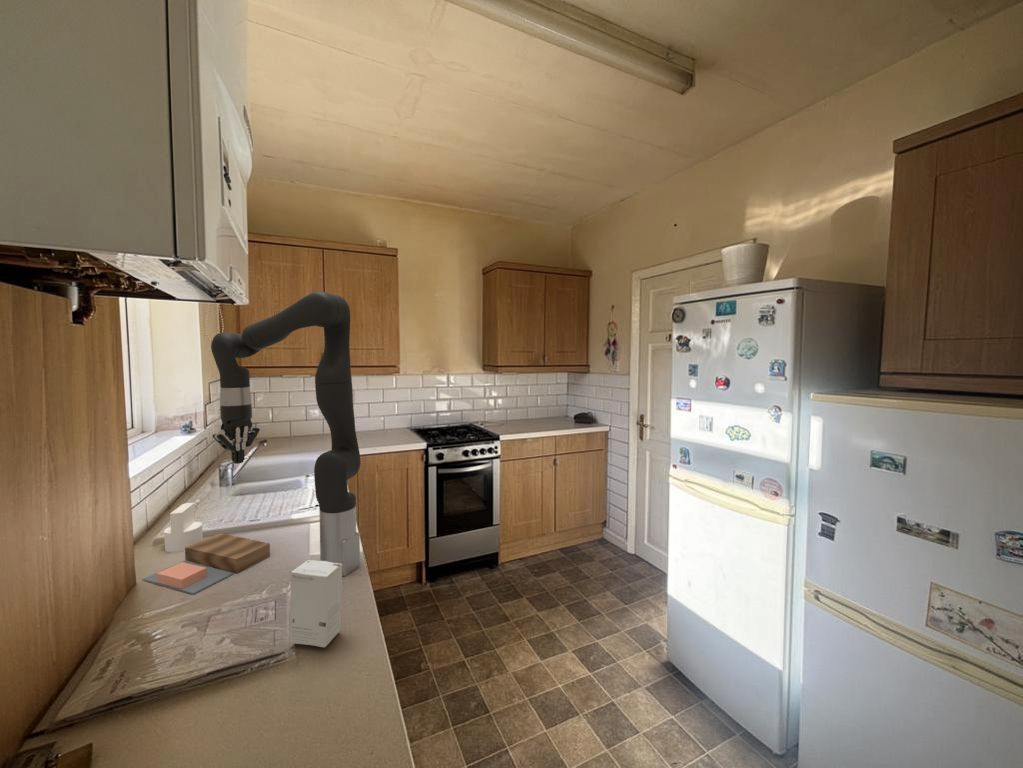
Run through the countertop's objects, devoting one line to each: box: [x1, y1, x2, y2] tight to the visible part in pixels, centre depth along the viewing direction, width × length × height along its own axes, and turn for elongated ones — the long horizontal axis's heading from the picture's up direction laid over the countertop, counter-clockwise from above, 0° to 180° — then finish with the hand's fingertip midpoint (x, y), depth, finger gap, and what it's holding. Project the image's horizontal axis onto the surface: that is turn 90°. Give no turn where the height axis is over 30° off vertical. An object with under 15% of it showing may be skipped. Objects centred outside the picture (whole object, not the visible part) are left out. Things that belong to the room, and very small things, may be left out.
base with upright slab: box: [163, 502, 204, 553], centre depth 123 cm, size 9×9×12 cm
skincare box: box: [288, 559, 343, 648], centre depth 84 cm, size 8×6×15 cm
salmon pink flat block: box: [156, 561, 207, 589], centre depth 104 cm, size 9×6×2 cm, turn 72°
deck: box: [184, 533, 271, 575], centre depth 116 cm, size 20×10×4 cm, turn 71°
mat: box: [142, 560, 234, 596], centre depth 106 cm, size 19×10×1 cm, turn 71°
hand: (238, 462), depth 117 cm, fingers closed
